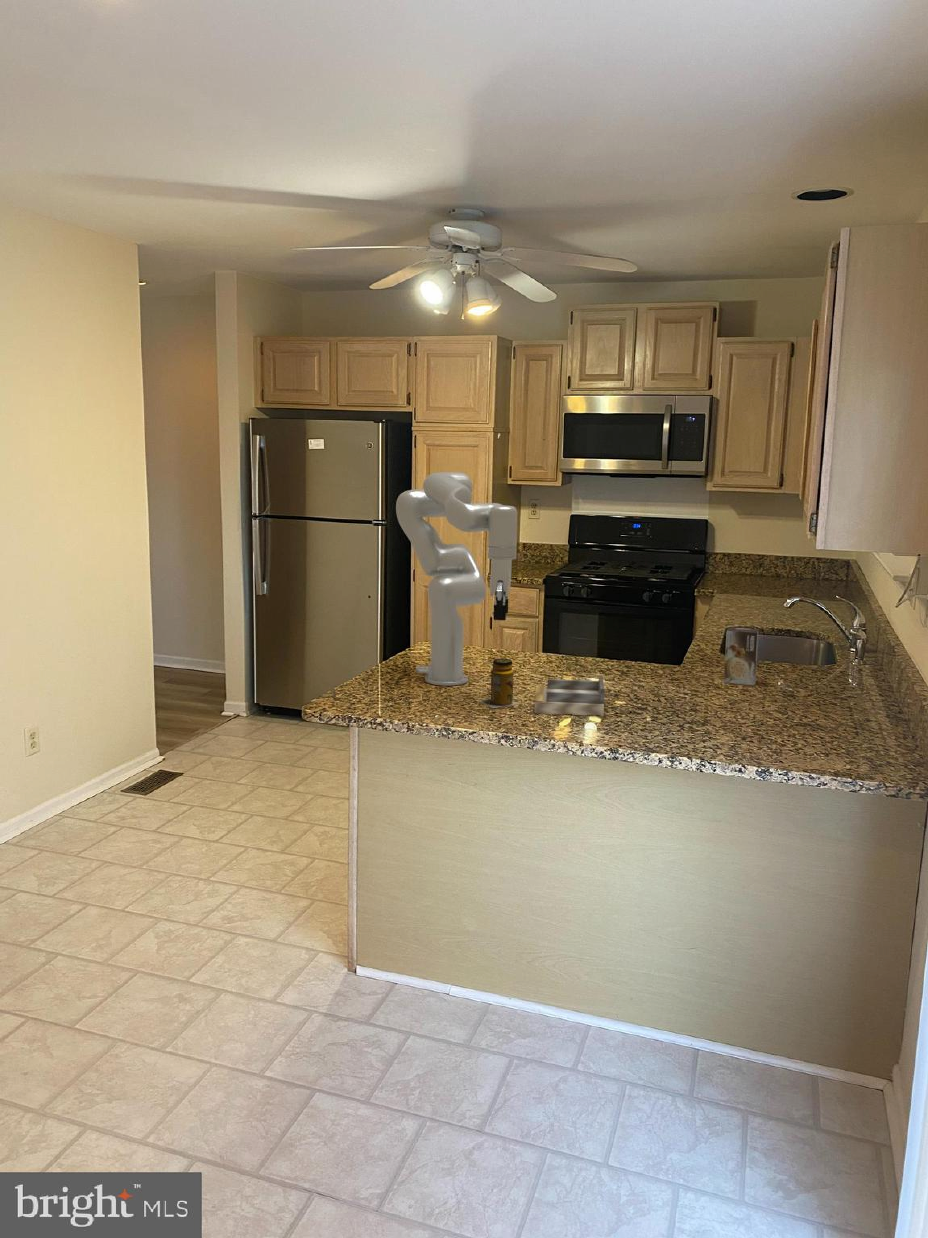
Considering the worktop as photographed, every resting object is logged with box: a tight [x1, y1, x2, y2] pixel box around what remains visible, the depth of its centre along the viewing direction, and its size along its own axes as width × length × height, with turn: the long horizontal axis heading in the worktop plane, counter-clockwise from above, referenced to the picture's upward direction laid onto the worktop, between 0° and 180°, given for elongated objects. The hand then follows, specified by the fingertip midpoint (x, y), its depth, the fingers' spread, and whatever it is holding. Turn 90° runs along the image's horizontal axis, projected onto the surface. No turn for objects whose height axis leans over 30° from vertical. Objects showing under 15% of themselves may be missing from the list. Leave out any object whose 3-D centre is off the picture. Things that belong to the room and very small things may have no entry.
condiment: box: [478, 657, 519, 709], centre depth 252 cm, size 7×8×12 cm
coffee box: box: [723, 626, 760, 686], centre depth 277 cm, size 9×6×16 cm
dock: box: [533, 675, 605, 717], centre depth 250 cm, size 18×16×7 cm
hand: (500, 616), depth 248 cm, fingers open, 9 cm apart
